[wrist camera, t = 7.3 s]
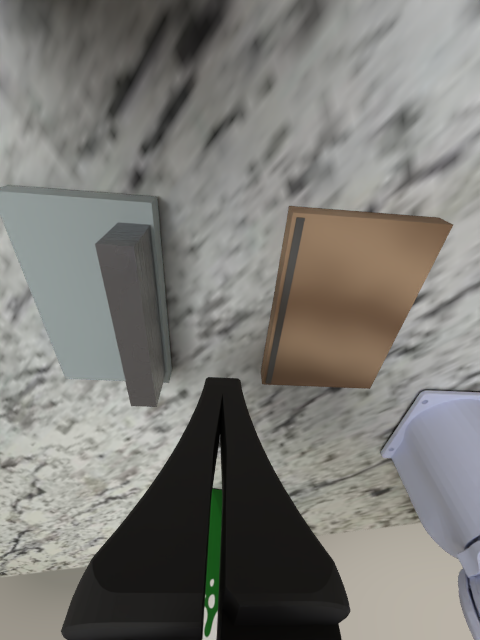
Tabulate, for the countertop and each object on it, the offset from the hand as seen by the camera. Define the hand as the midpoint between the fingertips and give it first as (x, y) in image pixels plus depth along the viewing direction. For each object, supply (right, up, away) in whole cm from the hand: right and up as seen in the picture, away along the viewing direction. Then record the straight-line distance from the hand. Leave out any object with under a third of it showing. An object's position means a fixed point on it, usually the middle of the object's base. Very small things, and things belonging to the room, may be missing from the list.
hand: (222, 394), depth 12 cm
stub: (-7, +4, +5) cm, 10 cm away
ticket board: (+7, +4, +6) cm, 10 cm away
